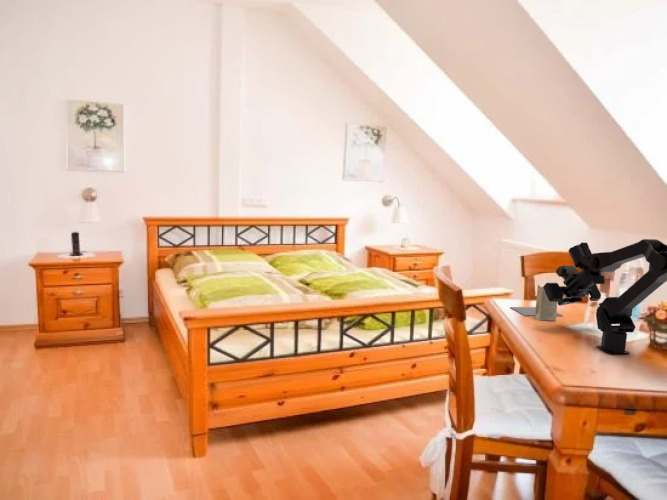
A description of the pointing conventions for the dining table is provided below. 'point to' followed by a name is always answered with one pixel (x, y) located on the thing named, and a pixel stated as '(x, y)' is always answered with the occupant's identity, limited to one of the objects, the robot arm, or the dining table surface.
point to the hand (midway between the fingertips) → (559, 304)
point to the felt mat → (528, 311)
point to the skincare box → (544, 306)
